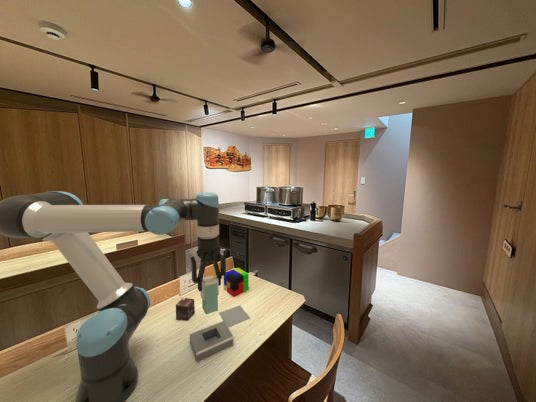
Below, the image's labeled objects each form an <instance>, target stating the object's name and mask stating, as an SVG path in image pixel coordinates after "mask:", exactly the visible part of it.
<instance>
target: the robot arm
mask: <svg viewBox="0 0 536 402" xmlns="http://www.w3.org/2000/svg"><path fill="white" fill-rule="evenodd" d="M219 203H220V202H219V194H217V193H215V192H198V193H197V194H196V197H195V198H174V197H173V198H172V197H171V198H163V199H160V201H159V202H158V204H84V203H83V201H82V200H81V199H80V198H79V197H78V196H76V195H74V194H73V193H70V192H67V191H61V190H60V191H59V190H57V191H54V190H52V191H51V190H50V191H49V190H48V191H45V192H38V193H29V194H22V195H21V194H19V195H13V196H10V197H7V198H3V199H2V200H0V235H1V236H3V237H6V238H13V239H29V238H30V239H33V238H34V239H35V238H36V239H37V238H40V240H41V241H44V242H50V243H53V245H54V246H55V247H56V249H57V250H58V251H59V253H61V255H62V256H63V257H64V258H65V260H66V261H67V262H68V263H69V265H70V266H71V267H72V269H73V270H74V271H75V273H76V274H77V275H78V277H79V278H80V279H81V280H82V282H83V283H84V284H85V285H86V286H87V287H88V289H89V291H90V292H91V293H92V294H93V295H94V297H95V298H96V300H97V301H98V303H97V306H96V309H97V311H98V312H97V313H96V314H93V315H91V316H90V317H88V318H87V319H86V320H85V321H84V322H82V324H81V325H80V327H79V329H78V331H77V332H76V343H75V344H76V345H75V346H76V351H77V356H78V362H79V363H78V364H79V369H80V377H81V380H80V383H79V387H78V389H77V393H76V396H75V402H125V401H126V400H127V399H128V398H129V397H130V396H131V394H132V393H133V392H134V390H136V389H135V388H136V387H137V384H138V381H139V370H138V367H137V365H136V364H135V362H134V361H133V359H132V357H131V355H130V345H129V342H130V340H131V338H132V336H133V335H134V333H135V332H136V330H137V328H138V327H139V325H140V324H141V323H142V321H143V319H145V317H146V316H147V313H148V310H149V309H150V305H151V298H150V294H149V293H148V292H147V290H146V289H145V288H143V287H139V286H135V285H134V284H133V283H132V282H125V281H124V280H123V278H122V277H121V275H120V274H119V273H118V271H117V270H116V268H114V265H112V263H111V262H110V261H109V259H108V258H107V256H106V255H105V254H104V252H103V251H102V250H101V248H100V247H99V246H98V244H97V243H96V242H95V240H94V239H93V237H92V236H91V234H90V233H122V232H123V233H124V232H127V233H130V232H132V233H133V232H149V233H152V234H154V235H157V236H163V235H166V234H167V235H168V233H171V232H173V231H174V230H175V229H176V228H177V227H178V225H180V224H181V223H182V222H183V221H196V225H197V227H196V228H197V230H196V231H197V250H196V253H194V254H190V255H189V256H188V258H189V259H190V263H191V264H190V267H191V280H192V282H193V283H194V284H197V290H198V292H200V298H201V301H202V300H205V288H204V282H203V278H204V276H205V275H204V274H205V270H206V265H207V263H208V262H212V265H213V269H214V272H215V275H213V276H214V277H215V279H216V280H217V287H218V296H219V294H220V290H219V287H220V286H221V285H222V282H221V281H222V279H223V277H224V275H225V274H226V272H227V271H226V268H227V263H226V261H227V260H226V259H227V258H226V257H227V254H228V250H226V249H225V248H221V247H220V236H219V235H220V204H219ZM219 254H220V261H219V262H218V255H219ZM198 257H199V259H200V263H199V268H198V269H197V260H198ZM218 263H219V264H218ZM219 265H220V266H219ZM197 270H198V272H197Z"/></svg>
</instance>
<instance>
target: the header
mask: <svg viewBox="0 0 536 402" xmlns="http://www.w3.org/2000/svg"><path fill="white" fill-rule="evenodd" d="M234 340H235V337H234V335H233V333H232V332H231V330H230V327H227V325H226V324H225V322H224V321H223V320H222V321H219V322H217V323H214V324H212V325H209V326H207V327H204V328H203V329H200V330H197V331H194V332H192V333H190V334H189V344H190V347H191V350H192V352H193V353H192V354H193V355H194V358H195V361H196V362H199V361H202V360H204V359H205V358H209V357H210V356H212V355H214V354H216V353H218V352H219V353H220V352H221V351H223V350H226V349H227V348H230V347H232V346H234Z"/></svg>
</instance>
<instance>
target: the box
mask: <svg viewBox="0 0 536 402" xmlns="http://www.w3.org/2000/svg"><path fill="white" fill-rule="evenodd" d="M195 309H196V308H195V298H190V297H189V298H188V297H182V298H181V299H180V300H179V301H177V303H176V304H175V319H176V320H177V321H186V322H187V321H189V320H190V319H191V318H192V317H193V316H194V315H195V313H196V311H195Z"/></svg>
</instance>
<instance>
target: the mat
mask: <svg viewBox="0 0 536 402" xmlns="http://www.w3.org/2000/svg"><path fill="white" fill-rule="evenodd" d="M218 314H219V316H220V317H221V319H222V321H224V322H225V324H226V325H227V327H228V328H230V327H233V326H236V325H238V324H241V323H243V322H245V321H247V320H250V319H251V317H250V315H248V313H247V312H246V311H245V309H244V308H243V307H242V306H241V305H236V306H234V307H231V308H229V309H228V308H227V309H225V310H223V311H220V312H218Z"/></svg>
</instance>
